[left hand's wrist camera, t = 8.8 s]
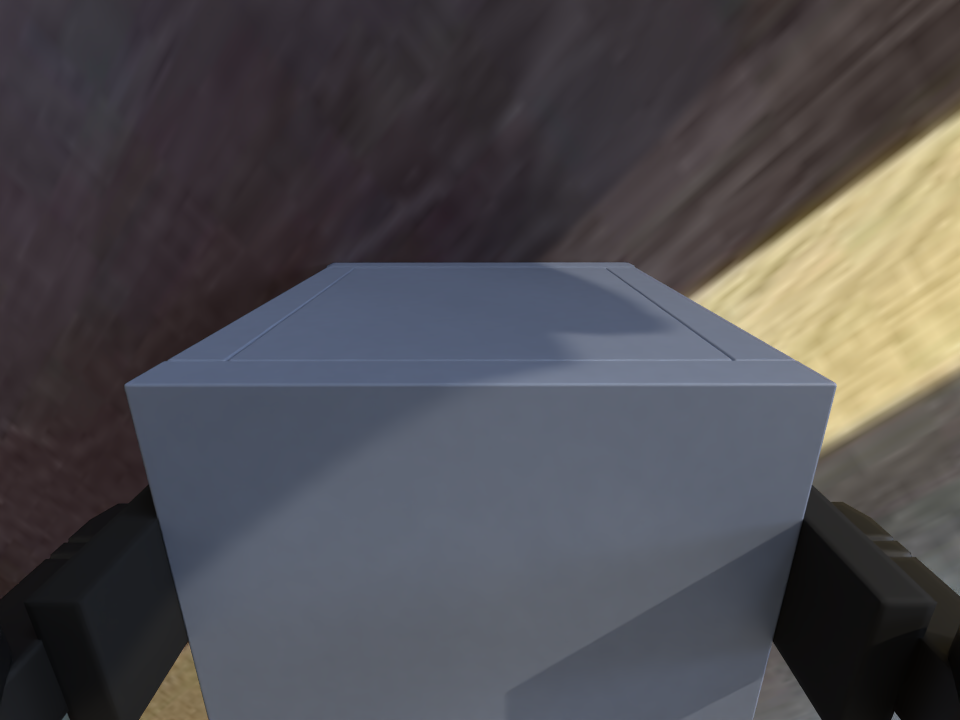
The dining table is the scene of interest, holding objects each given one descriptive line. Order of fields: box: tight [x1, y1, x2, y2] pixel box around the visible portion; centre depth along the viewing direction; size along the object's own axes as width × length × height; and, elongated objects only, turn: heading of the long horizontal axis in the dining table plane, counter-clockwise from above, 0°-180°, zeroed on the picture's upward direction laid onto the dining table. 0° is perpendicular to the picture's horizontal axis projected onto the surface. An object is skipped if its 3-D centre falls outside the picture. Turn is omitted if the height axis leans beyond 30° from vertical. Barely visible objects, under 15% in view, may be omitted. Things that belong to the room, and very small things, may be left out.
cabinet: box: [124, 262, 836, 720], centre depth 16 cm, size 15×11×12 cm
